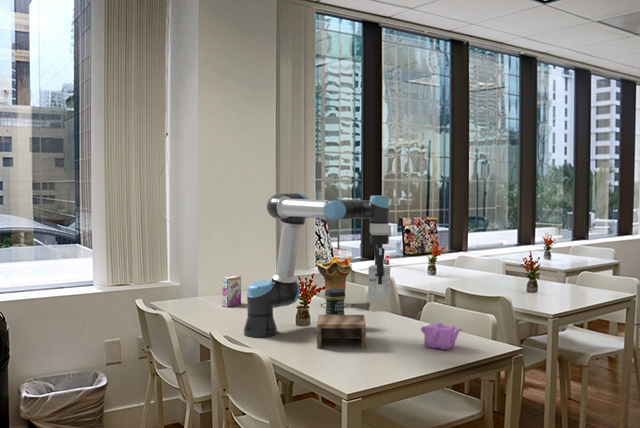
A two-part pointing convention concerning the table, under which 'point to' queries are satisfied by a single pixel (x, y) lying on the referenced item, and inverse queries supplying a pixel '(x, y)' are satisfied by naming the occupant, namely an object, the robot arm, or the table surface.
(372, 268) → the supplement box
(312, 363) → the table surface
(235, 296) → the candy bar box
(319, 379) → the table surface
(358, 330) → the walnut shelf
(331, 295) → the coffee jar
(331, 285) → the decorative vase
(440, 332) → the teapot
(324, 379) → the table surface
